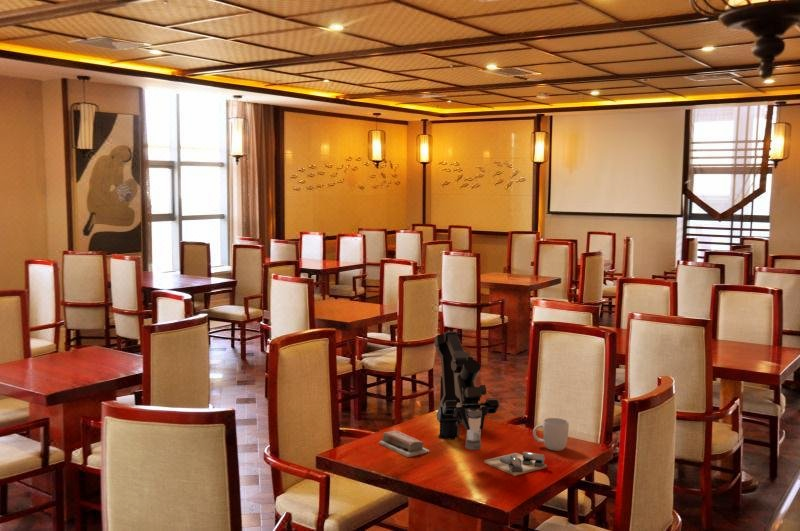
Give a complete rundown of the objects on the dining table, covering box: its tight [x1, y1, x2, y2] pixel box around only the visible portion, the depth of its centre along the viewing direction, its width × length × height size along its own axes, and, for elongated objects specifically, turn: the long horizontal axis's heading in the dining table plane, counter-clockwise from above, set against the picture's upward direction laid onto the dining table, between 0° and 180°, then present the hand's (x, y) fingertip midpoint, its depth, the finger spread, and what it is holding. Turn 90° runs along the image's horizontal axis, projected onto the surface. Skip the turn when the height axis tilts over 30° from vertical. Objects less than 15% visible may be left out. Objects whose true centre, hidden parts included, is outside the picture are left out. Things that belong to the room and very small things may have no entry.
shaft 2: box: [522, 451, 546, 467], centre depth 259 cm, size 7×4×4 cm, turn 67°
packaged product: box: [378, 429, 430, 458], centre depth 276 cm, size 18×5×10 cm
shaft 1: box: [508, 453, 523, 472], centre depth 254 cm, size 7×4×4 cm, turn 3°
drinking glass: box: [465, 407, 482, 451], centre depth 256 cm, size 5×5×13 cm
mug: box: [532, 417, 570, 452], centre depth 279 cm, size 13×9×10 cm
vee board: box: [483, 452, 548, 477], centre depth 260 cm, size 15×15×1 cm
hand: (474, 429), depth 255 cm, fingers closed on drinking glass, 5 cm apart
